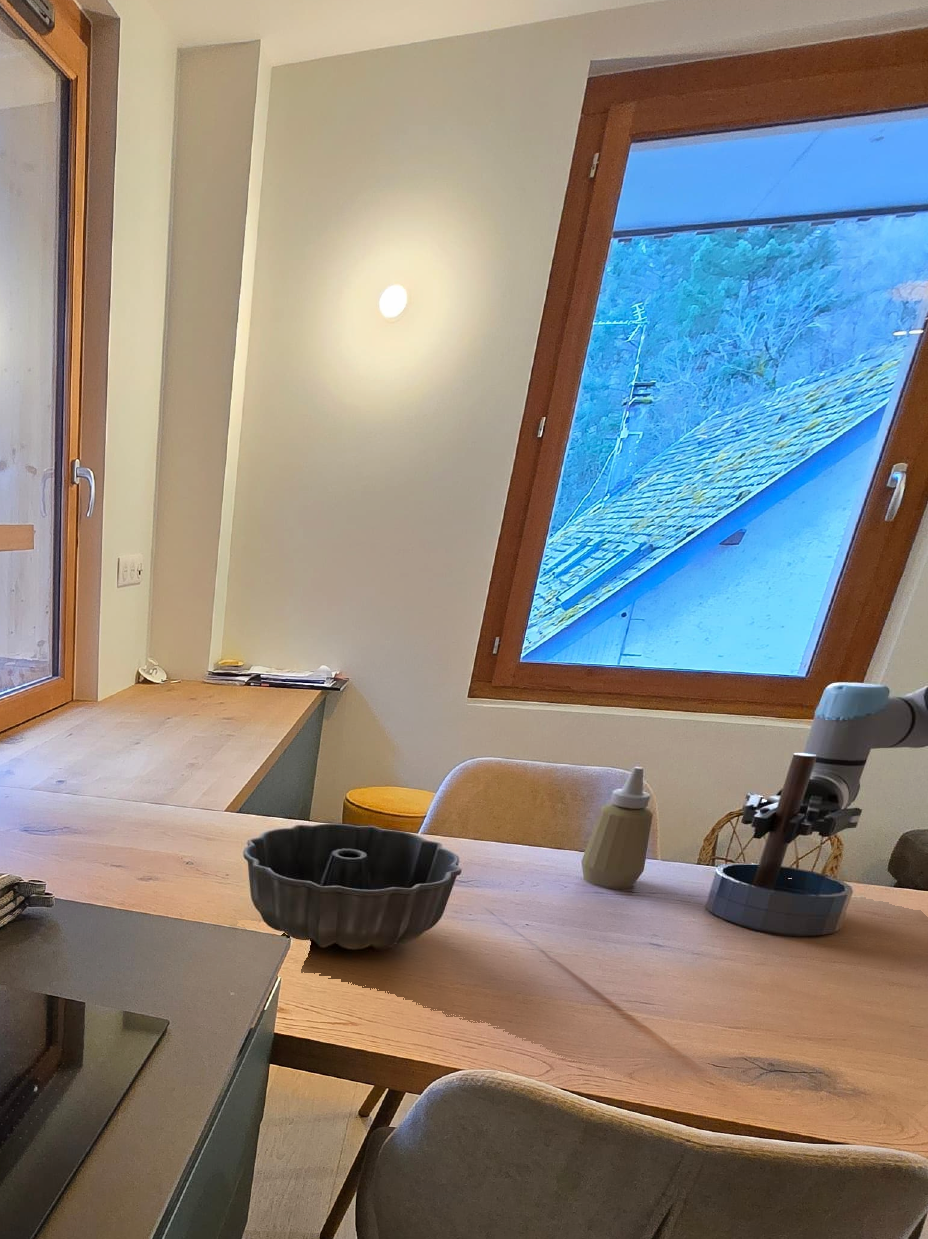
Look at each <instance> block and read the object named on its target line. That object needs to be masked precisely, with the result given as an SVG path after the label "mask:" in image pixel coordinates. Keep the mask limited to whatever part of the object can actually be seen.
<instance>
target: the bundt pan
mask: <svg viewBox="0 0 928 1239" xmlns="http://www.w3.org/2000/svg"><path fill="white" fill-rule="evenodd" d="M246 841H247V842H246V845H247V846H246V847H244V849H243V852H242V856H243V858H244V859H245V861H247V870H248V881H249V892H250V897H251V898H250V899H251V901H252V904H253V906H254V908H255V909H256V910H257V911H258V913H259V914H260V916H261V919H262V920H263V922H264V923H265V924H266V925H267V926H268V927H270V928H271V929H272V930H275V931H279V932H283V933H285V935H287V936H288V937H291V938H292V939H295V940H299V941H311V940H313V941H314V942H315V943H316V944H317V945H318V946H319V947H320V948H327V947H330V946H332V945H334V944H337V945H338V946H340V947H342V948H344V949H347V950H362V949H366V948H368V947H369V946H370V947H372V948H375V949H376V950H387V949H390V948H391V947H393V946H394V945H395V944H406V943H408V942H412V941H414V940H416V939H417V938H419V937H421V936H422V935H423V934H424V933H425V932H427V931H429V930H431V929H433V927H435V926H436V925H437V924H438V923H439V921H440V920H441V918H442V917H443V915H444V912H445V910H446V907H447V904H448V901H449V899H450V896H451V893H452V890H453V888H454V885H455V882H456V879H457V878H458V877H457V876H461V874H462V870H463V869H462V868H461V867H459V863H460V856H458V855H457V854H456V853H455V852H453V851H452V850H449V849H446V848H443V845H442V843H441V842H439V841H438V842H437V841H433V840H428V839H425V838H424V837H422V836H420V835H417V834H415V833H411V832H407V831H401V830H396V829H383V828H381V827H379V826H375V825H360V826H359V825H355V824H348V823H347V824H346V823H319V824H313V825H308V824H296V825H293V826H291V827H284V828H274V829H271V830H266V831H264V832H262V833H261V834H260V835H259V836H258V837H253V838H249V839H248V840H246Z"/></svg>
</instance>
